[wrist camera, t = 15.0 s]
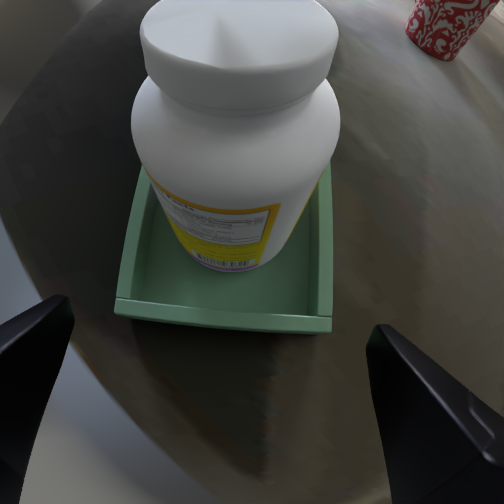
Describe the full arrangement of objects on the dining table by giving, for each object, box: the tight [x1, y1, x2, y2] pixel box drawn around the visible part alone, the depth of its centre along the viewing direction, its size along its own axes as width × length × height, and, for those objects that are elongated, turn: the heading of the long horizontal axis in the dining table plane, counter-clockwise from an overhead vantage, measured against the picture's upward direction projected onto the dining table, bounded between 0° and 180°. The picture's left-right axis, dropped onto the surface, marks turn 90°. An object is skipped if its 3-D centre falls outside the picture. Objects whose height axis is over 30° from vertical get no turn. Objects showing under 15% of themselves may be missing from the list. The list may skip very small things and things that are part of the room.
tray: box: [114, 161, 333, 335], centre depth 20 cm, size 32×11×3 cm, turn 176°
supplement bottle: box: [131, 0, 340, 272], centre depth 12 cm, size 7×7×13 cm
